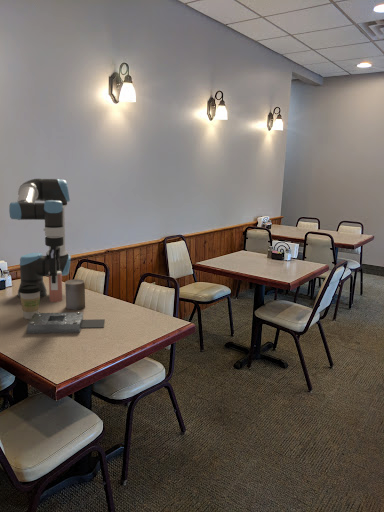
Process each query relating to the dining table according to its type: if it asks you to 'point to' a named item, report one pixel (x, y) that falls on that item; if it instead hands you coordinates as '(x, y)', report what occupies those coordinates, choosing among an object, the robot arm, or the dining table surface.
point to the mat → (93, 323)
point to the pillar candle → (75, 294)
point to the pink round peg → (56, 294)
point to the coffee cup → (30, 299)
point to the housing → (55, 323)
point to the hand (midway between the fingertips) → (55, 287)
